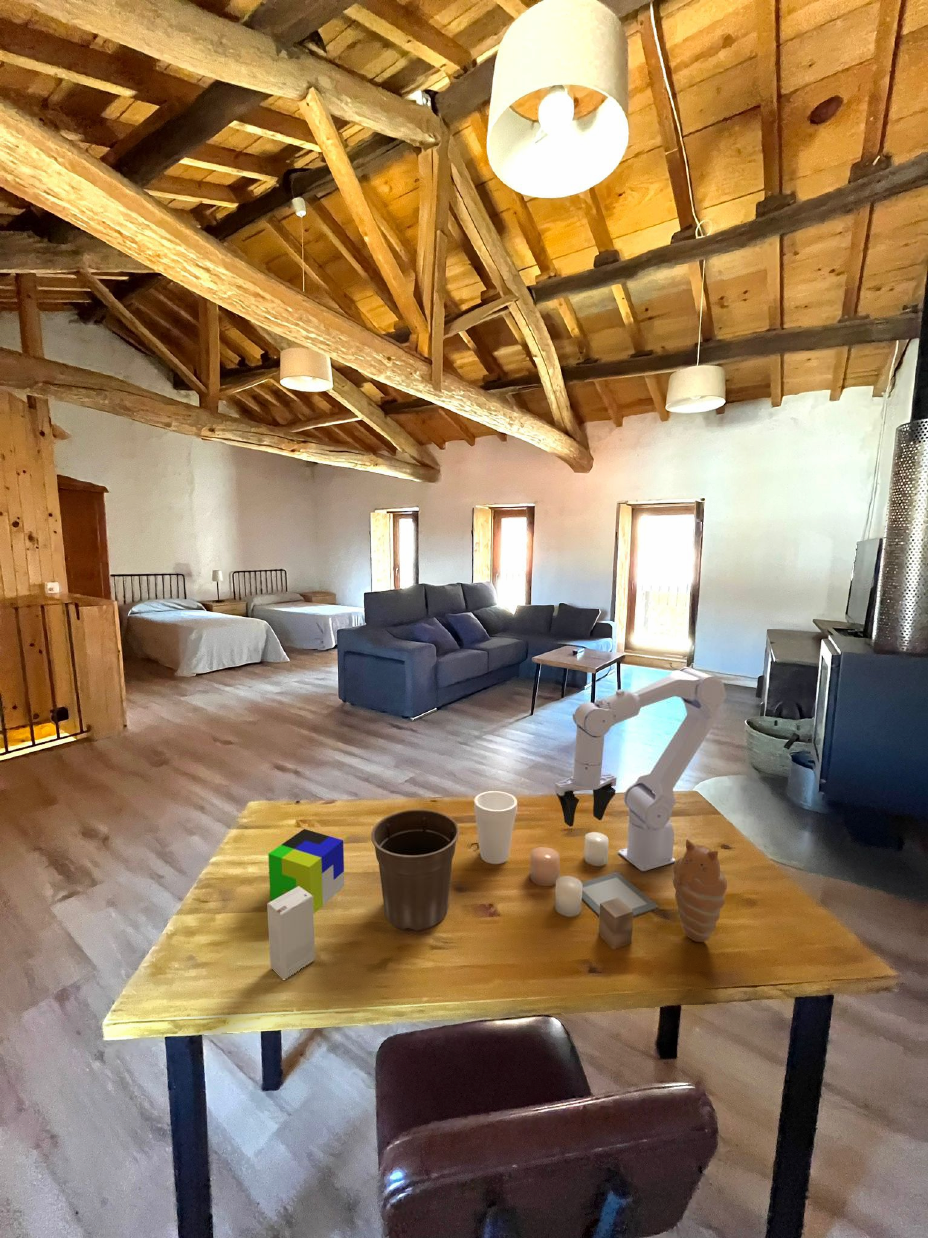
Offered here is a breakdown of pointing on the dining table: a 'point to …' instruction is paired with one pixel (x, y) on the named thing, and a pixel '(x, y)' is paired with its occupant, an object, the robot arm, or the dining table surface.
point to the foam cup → (495, 824)
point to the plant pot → (415, 866)
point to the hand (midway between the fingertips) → (583, 821)
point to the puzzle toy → (308, 866)
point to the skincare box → (291, 932)
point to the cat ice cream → (699, 890)
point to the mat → (615, 893)
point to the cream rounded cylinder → (596, 849)
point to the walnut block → (615, 923)
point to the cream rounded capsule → (568, 896)
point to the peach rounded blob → (544, 866)
